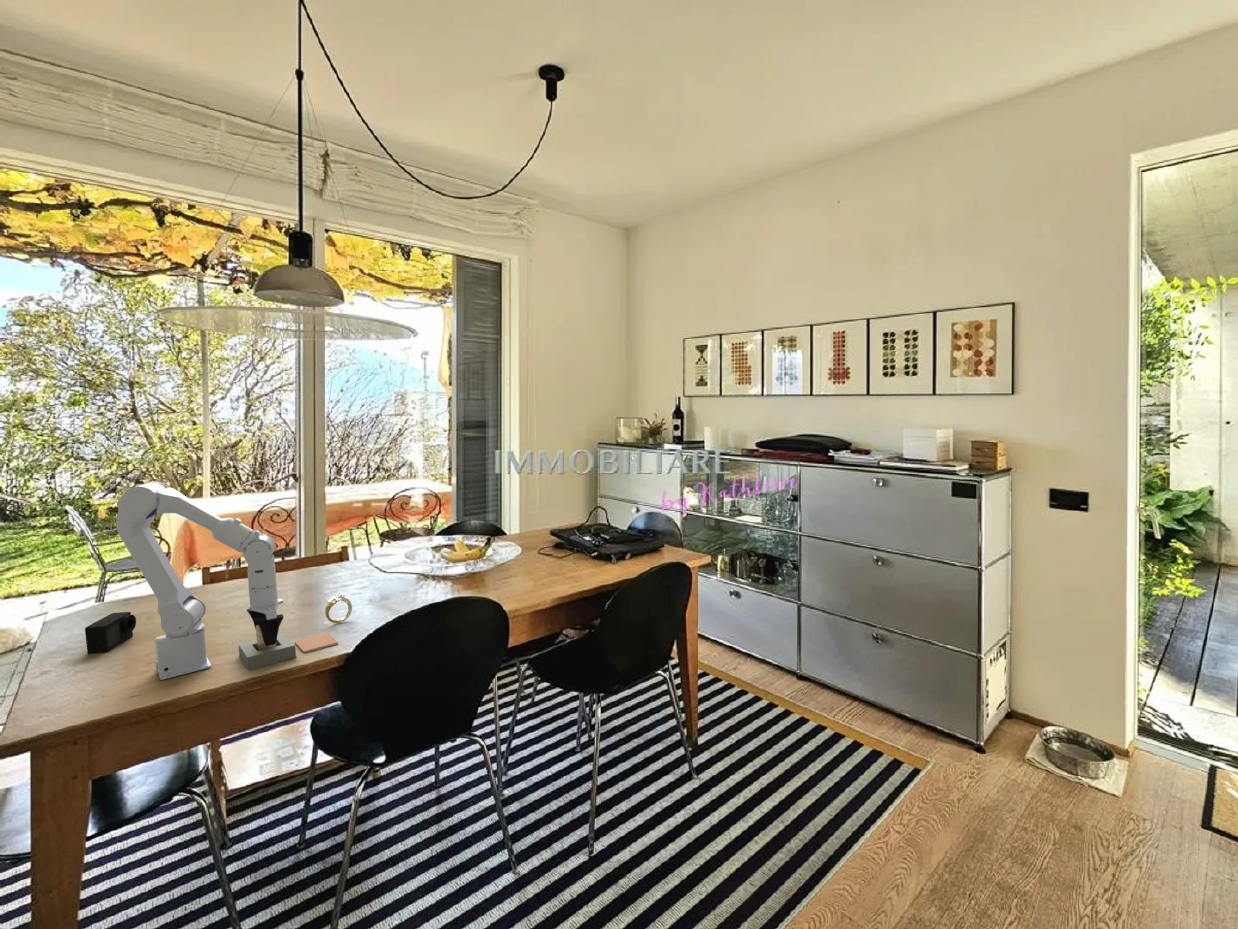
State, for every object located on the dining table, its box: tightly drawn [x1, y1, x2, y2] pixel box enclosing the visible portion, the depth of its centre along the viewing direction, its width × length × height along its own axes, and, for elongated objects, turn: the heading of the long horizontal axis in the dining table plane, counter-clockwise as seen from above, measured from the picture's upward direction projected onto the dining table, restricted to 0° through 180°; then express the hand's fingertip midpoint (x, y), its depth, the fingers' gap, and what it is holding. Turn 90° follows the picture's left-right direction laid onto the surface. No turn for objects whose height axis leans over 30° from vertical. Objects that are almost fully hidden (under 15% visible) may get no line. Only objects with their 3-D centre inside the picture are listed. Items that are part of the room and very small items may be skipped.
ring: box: [324, 594, 353, 625], centre depth 163 cm, size 7×3×8 cm, turn 132°
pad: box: [294, 632, 339, 654], centre depth 150 cm, size 8×8×1 cm
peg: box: [255, 625, 277, 651], centre depth 142 cm, size 4×4×8 cm
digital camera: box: [84, 611, 137, 655], centre depth 149 cm, size 10×5×7 cm, turn 11°
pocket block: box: [238, 632, 297, 671], centre depth 142 cm, size 10×10×3 cm
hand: (266, 640), depth 142 cm, fingers open, 7 cm apart
